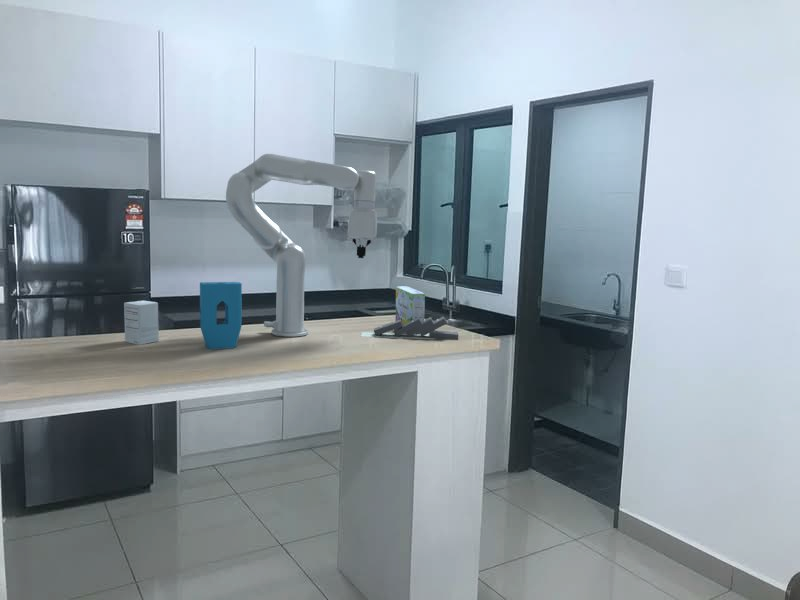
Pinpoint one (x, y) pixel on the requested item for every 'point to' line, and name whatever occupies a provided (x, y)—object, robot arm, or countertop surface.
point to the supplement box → (141, 322)
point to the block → (209, 299)
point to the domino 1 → (388, 327)
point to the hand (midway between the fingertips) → (360, 257)
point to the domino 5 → (443, 334)
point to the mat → (392, 335)
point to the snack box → (409, 304)
